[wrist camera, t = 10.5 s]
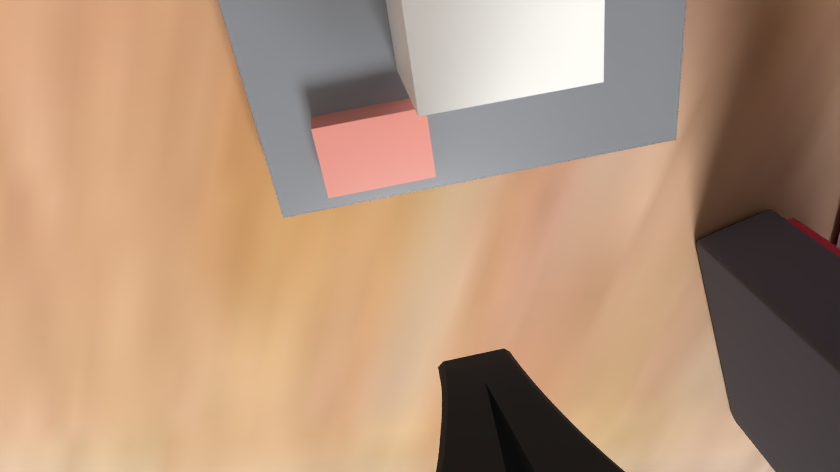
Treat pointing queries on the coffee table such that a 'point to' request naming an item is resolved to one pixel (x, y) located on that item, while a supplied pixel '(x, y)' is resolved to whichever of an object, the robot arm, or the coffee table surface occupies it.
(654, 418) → the coffee table surface
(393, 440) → the coffee table surface
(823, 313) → the dark grey red box
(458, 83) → the white rectangular box
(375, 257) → the coffee table surface
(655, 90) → the socket
